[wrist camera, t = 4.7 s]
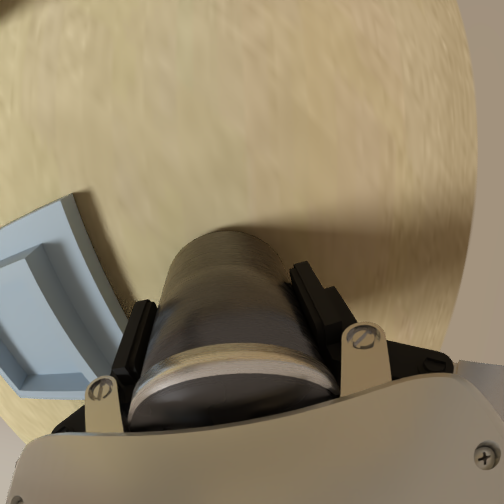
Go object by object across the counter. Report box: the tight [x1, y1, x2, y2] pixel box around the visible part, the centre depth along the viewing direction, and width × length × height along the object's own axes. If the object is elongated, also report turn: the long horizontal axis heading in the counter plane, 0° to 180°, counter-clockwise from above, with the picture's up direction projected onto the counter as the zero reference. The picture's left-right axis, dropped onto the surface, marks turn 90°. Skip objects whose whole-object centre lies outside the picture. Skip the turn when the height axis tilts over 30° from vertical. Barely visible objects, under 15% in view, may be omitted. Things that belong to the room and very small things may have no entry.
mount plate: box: [0, 193, 128, 400], centre depth 13 cm, size 12×13×3 cm
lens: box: [128, 231, 341, 432], centre depth 10 cm, size 6×6×8 cm
